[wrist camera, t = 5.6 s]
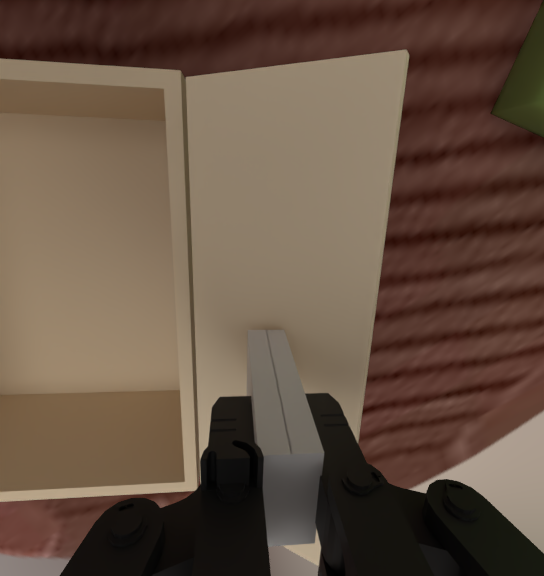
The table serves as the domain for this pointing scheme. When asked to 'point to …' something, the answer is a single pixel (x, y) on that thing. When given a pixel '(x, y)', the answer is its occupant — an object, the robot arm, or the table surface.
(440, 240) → the table surface
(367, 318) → the flap
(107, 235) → the carton
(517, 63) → the canister
